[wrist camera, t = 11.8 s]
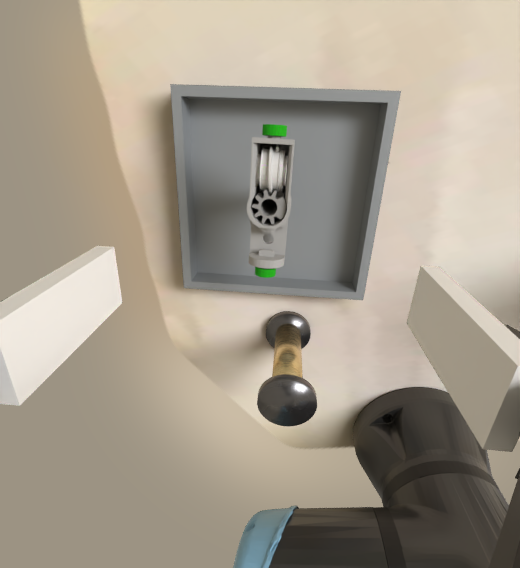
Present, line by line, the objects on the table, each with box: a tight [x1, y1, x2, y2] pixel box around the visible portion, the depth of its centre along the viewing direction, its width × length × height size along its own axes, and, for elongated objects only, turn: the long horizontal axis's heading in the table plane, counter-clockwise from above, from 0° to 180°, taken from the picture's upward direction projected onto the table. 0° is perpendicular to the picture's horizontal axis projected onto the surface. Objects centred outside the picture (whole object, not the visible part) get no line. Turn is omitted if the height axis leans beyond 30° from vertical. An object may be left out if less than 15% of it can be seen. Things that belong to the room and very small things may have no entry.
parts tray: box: [170, 84, 401, 300], centre depth 32 cm, size 18×18×3 cm
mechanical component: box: [247, 124, 295, 278], centre depth 27 cm, size 3×10×10 cm, turn 177°
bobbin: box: [257, 311, 317, 426], centre depth 34 cm, size 5×5×12 cm
